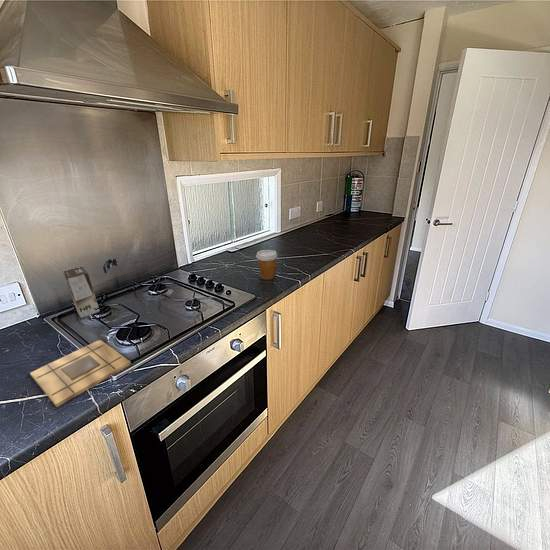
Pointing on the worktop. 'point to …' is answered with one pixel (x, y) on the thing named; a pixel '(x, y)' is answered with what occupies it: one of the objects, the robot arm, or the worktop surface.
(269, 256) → the disposable coffee cup
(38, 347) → the worktop surface
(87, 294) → the coffee box
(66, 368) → the game board
